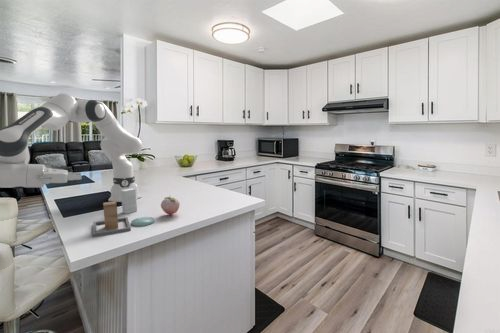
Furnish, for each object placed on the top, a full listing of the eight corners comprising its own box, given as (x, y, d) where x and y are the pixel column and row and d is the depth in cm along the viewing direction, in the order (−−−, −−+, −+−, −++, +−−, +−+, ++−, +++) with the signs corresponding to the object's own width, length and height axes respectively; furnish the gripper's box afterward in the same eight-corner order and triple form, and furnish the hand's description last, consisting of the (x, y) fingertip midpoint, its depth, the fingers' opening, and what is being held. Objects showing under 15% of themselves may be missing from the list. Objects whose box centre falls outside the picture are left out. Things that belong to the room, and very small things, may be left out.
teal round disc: (130, 221, 125) (130, 219, 125) (152, 217, 129) (152, 215, 129) (132, 227, 116) (132, 225, 116) (156, 223, 121) (156, 221, 121)
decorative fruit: (183, 214, 135) (183, 195, 134) (171, 218, 128) (170, 198, 127) (170, 211, 140) (170, 192, 138) (158, 215, 133) (157, 196, 131)
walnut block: (105, 226, 117) (103, 202, 116) (117, 224, 120) (116, 201, 118) (105, 230, 113) (103, 205, 112) (118, 228, 116) (116, 204, 114)
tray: (93, 224, 120) (93, 222, 120) (127, 219, 127) (127, 217, 127) (92, 236, 106) (92, 234, 106) (130, 230, 113) (130, 227, 113)
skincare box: (133, 209, 143) (131, 188, 141) (137, 211, 140) (135, 189, 138) (122, 212, 138) (120, 190, 136) (125, 214, 135) (124, 191, 134)
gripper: (35, 169, 92) (82, 170, 99) (41, 166, 109) (80, 167, 116) (34, 187, 92) (81, 186, 100) (40, 181, 109) (80, 181, 117)
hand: (81, 176), depth 108 cm, fingers open, 8 cm apart
